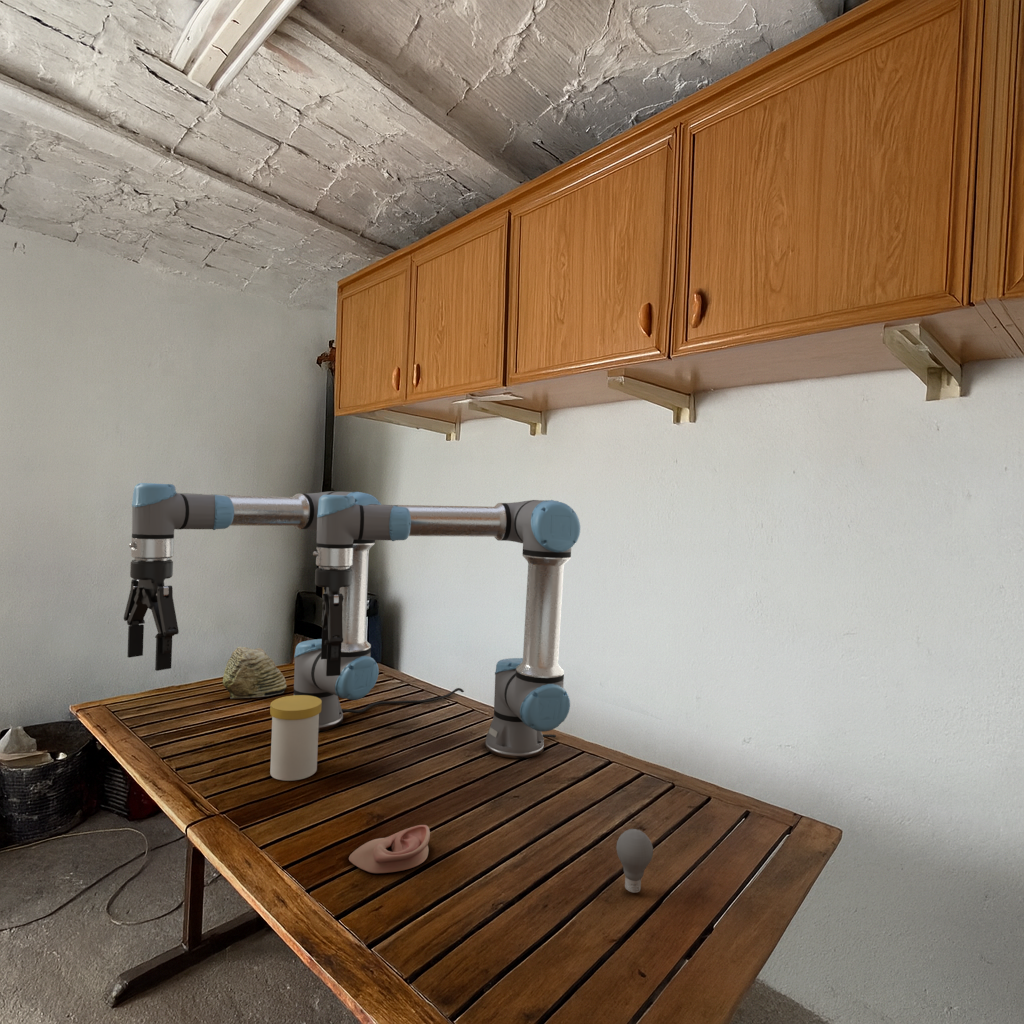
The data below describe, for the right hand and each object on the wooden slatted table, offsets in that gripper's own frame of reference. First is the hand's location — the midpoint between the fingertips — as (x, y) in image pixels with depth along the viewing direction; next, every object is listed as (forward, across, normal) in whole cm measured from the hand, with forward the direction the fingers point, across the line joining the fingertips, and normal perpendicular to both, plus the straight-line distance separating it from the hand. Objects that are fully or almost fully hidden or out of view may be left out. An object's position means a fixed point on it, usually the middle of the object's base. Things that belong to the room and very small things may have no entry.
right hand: (330, 666), depth 135 cm
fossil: (+27, -73, -15) cm, 80 cm away
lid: (+12, -13, -6) cm, 19 cm away
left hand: (-1, -8, -35) cm, 36 cm away
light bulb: (+27, +49, +45) cm, 72 cm away
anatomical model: (+27, +28, +9) cm, 40 cm away
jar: (+27, -13, -6) cm, 31 cm away
